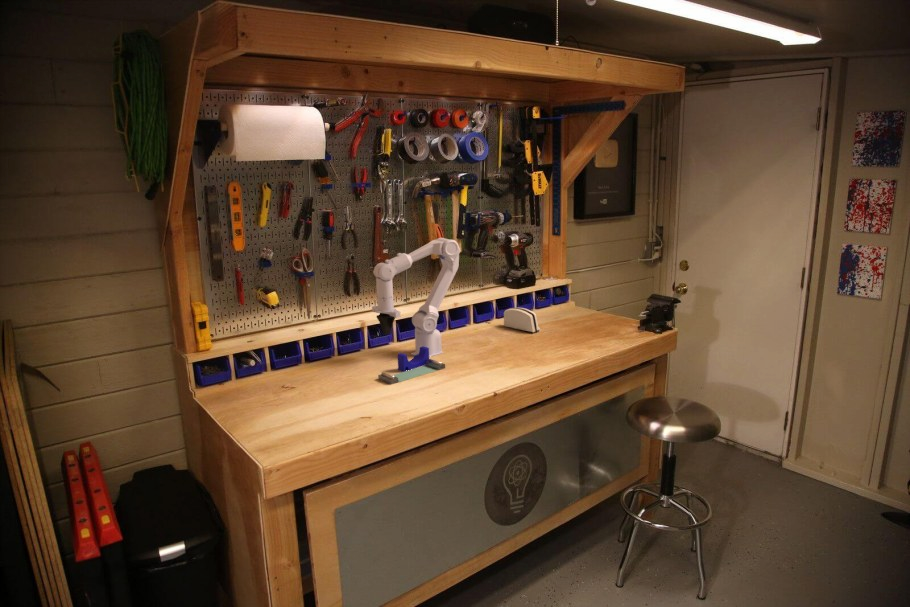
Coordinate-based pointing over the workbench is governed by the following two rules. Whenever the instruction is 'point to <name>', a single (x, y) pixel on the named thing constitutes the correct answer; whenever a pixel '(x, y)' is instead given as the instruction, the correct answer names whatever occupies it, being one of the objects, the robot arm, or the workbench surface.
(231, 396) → the workbench surface
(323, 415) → the workbench surface
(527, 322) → the white rounded dark-edged part
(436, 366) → the chain end
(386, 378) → the block
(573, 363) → the workbench surface
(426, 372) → the pad
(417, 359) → the blue curved cradle
